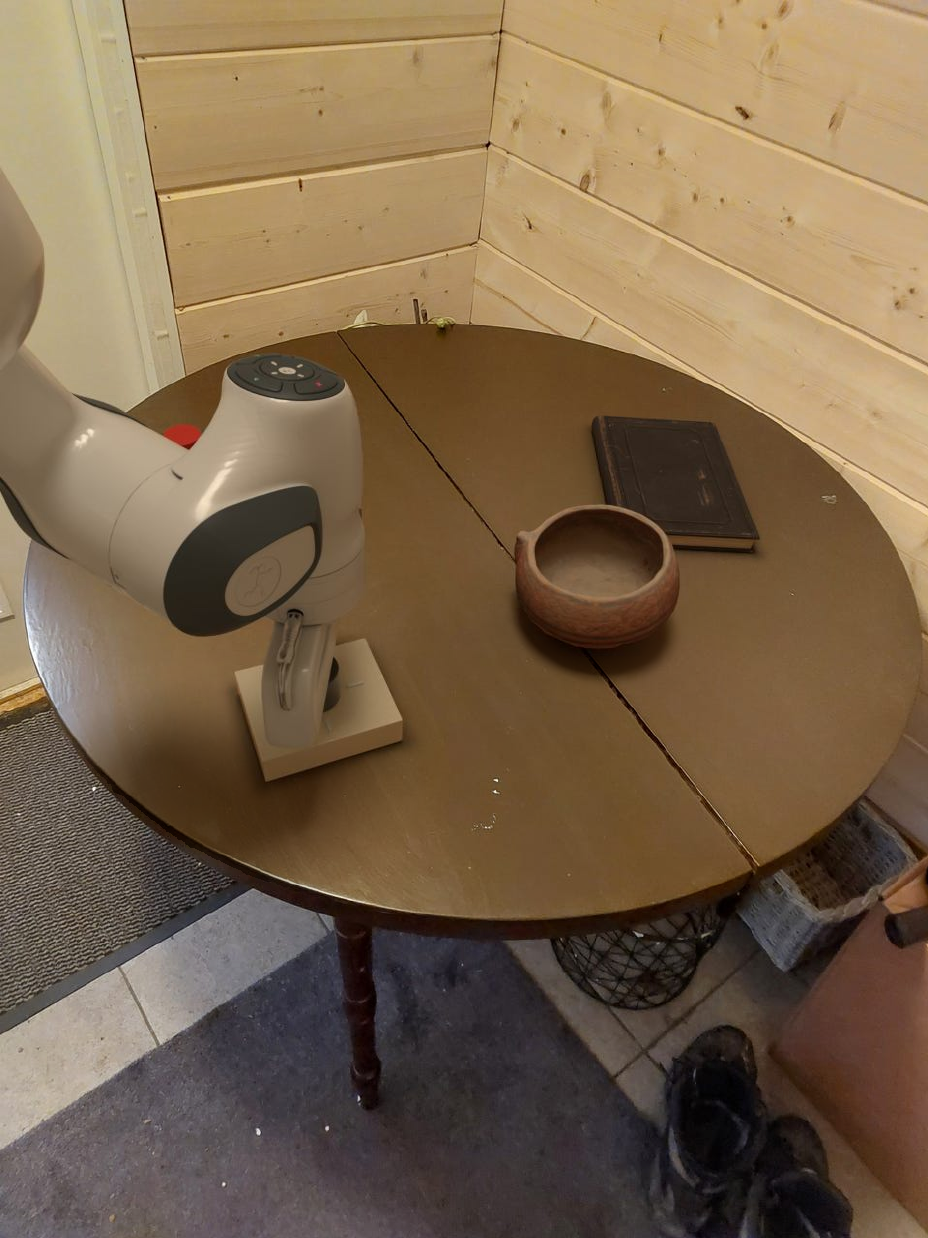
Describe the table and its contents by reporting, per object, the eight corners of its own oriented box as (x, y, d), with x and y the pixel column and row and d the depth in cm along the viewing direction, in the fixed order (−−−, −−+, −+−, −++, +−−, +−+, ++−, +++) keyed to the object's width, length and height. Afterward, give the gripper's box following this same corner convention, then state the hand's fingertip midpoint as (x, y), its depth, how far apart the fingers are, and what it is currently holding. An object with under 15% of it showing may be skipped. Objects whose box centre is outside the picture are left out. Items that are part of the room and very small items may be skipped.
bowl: (489, 576, 87) (499, 500, 80) (623, 553, 91) (644, 480, 84) (544, 688, 77) (560, 613, 70) (691, 657, 81) (721, 584, 74)
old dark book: (710, 437, 109) (715, 421, 107) (753, 553, 93) (760, 537, 91) (590, 429, 108) (593, 414, 106) (613, 545, 92) (617, 530, 90)
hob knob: (336, 715, 70) (334, 687, 67) (289, 711, 69) (285, 682, 67) (344, 679, 72) (342, 650, 70) (298, 675, 72) (295, 646, 70)
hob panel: (265, 782, 68) (261, 760, 66) (238, 693, 74) (233, 670, 72) (402, 740, 72) (403, 718, 70) (365, 659, 78) (365, 636, 76)
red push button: (169, 460, 90) (166, 447, 89) (163, 440, 93) (160, 427, 92) (206, 454, 92) (204, 441, 90) (199, 434, 94) (197, 421, 93)
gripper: (327, 678, 53) (336, 795, 63) (364, 487, 68) (366, 607, 77) (229, 672, 53) (253, 790, 63) (286, 482, 67) (299, 602, 77)
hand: (316, 688), depth 70 cm, fingers closed on hob knob, 4 cm apart
